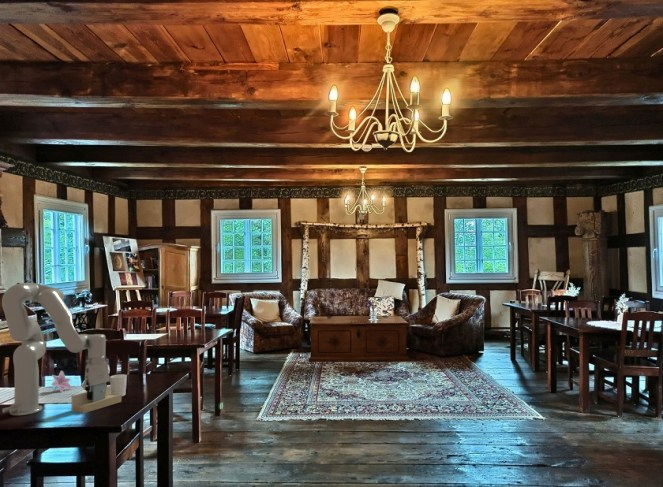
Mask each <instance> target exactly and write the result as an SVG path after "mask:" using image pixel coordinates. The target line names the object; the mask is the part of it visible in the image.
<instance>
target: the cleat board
mask: <svg viewBox="0 0 663 487" xmlns="http://www.w3.org/2000/svg"><path fill="white" fill-rule="evenodd" d="M121 402H122V396H121V394H120V395H117V396H115V395H111V385H107V387H106V394H105V399H102V400H99V401H95V402H92V401H87V391H84V392H80V393H77V394H72V395H71V410H70V411H71V412H74V413H75V412H76V413H80V414H86V413H90V412H92V411H96V410H100V409H102V408H105V407H108V406H112V405H116V404H118V403H121Z"/></svg>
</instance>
